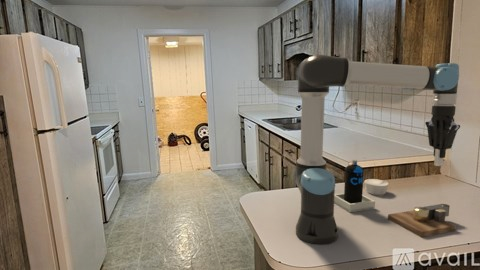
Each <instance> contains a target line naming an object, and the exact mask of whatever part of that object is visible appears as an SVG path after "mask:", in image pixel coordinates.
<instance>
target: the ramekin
mask: <svg viewBox="0 0 480 270" xmlns="http://www.w3.org/2000/svg"><path fill="white" fill-rule="evenodd" d="M363 184H364V188H365V191H366V193H368V194H371V195H374V196H375V195H376V196H381V195H382V196H383V195H385V194H386V193H387V190H388V187H389V185H390V184H389V182H388V181H386V180H382V179H377V178H368V179H365V180H363Z"/></svg>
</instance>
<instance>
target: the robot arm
mask: <svg viewBox="0 0 480 270" xmlns="http://www.w3.org/2000/svg"><path fill="white" fill-rule="evenodd" d="M459 77H460V65H459V64H458V63H455V62H449V63H447V62H445V63H438V64H436V65H435V66H425V65H413V64H412V65H410V64H397V63H395V64H394V63H382V62H367V61H366V62H365V61H351V60H350V59H349V58H348V57H339V56H332V55H326V54H315V55H312V56H310V57H307V58H305V59H304V60H303V61H301V62H300V63H299V65H298V67H297V69H296V79H297V88H298V89H297V93H298V94H299V95H300V97H301V114H300V115H301V118H300V119H301V121H300V123H301V124H300V125H301V126H300V156H299V157H298V158H297V160H296V161H295V162H296V165H295V166H296V167H295V168H296V169H295V171H294V182H295V185H296V186H297V189H298V190H299V192H300V213H299V216H298V219H297V222H296V226H295V235H296V236H297V238H299V239H301V240H302V241H304V242H306V243H310V244H314V245H315V244H316V245H326V244H332V243H334V242H336V241H337V240H338V238H339V228H338V226H337V222H336V219H335V216H334V214H335V203H334V194H336V192H335V191H336V190H335V188H336V181H335V180H336V178H335V175H334V174H333V173H332V172H331V171H329V170H327V161H326V160H325V159H324V158H323V153H324V152H323V150H324V148H323V146H324V125H325V124H324V122H325V98H326V96H327V95H328V94H329V93H330V87H331V88H332V87H342V88H343V87H345V86H346V85H356V86H357V85H358V86H374V87H388V88H402V89H403V90H408V91H413V90H414V91H415V90H416V91H419V90H421V91H425V90H426V91H432V104H433V105H432V106H431V116H432V117H431V118H430V119H431V120H429V121H426V122H425V126H426V128H427V138H428V145H429V146H430V147H432V148H433V154H432V155H433V157H434V161H433V162H434V163H433V166H435V167H441V166H444V158H446V151H447V150H451V149H452V146H453V145H454V142H455V138H456V137H457V136H456V135H457V132H458V130H459V129H460V128H461V125H460V124H456V122H455V118H454V117H455V115H456V109H457V108H456V106H455V105H456V104H457V97H458V85H459Z"/></svg>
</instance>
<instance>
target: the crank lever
mask: <svg viewBox="0 0 480 270" xmlns="http://www.w3.org/2000/svg"><path fill="white" fill-rule="evenodd" d="M450 207H451V206H450V205H449V204H446V203H440V204H432V205H427V206H415V207H413V210H414V214H413V218H414V219H415V220H417V221H421V222H427V221H428V220H430V219H434V216H435V210H438V209H442V210H445V211H446V214H445V218H447V217H449V216H450V215H449V214H450Z"/></svg>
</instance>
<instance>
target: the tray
mask: <svg viewBox="0 0 480 270" xmlns="http://www.w3.org/2000/svg"><path fill="white" fill-rule="evenodd" d="M334 205H337V206H339V207H340V208H341V209H343V210H345V211H346V212H348V213H350V214H351V213H356V212H362V211H368V210H375V209H376V208H375V207H376V200H374V199H372V198H370V197H368V196H365V195H364V194H362V202H358V203H352V204H350V203H348V202H347V201H345V200H344V192H343V193H335V194H334Z"/></svg>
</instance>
